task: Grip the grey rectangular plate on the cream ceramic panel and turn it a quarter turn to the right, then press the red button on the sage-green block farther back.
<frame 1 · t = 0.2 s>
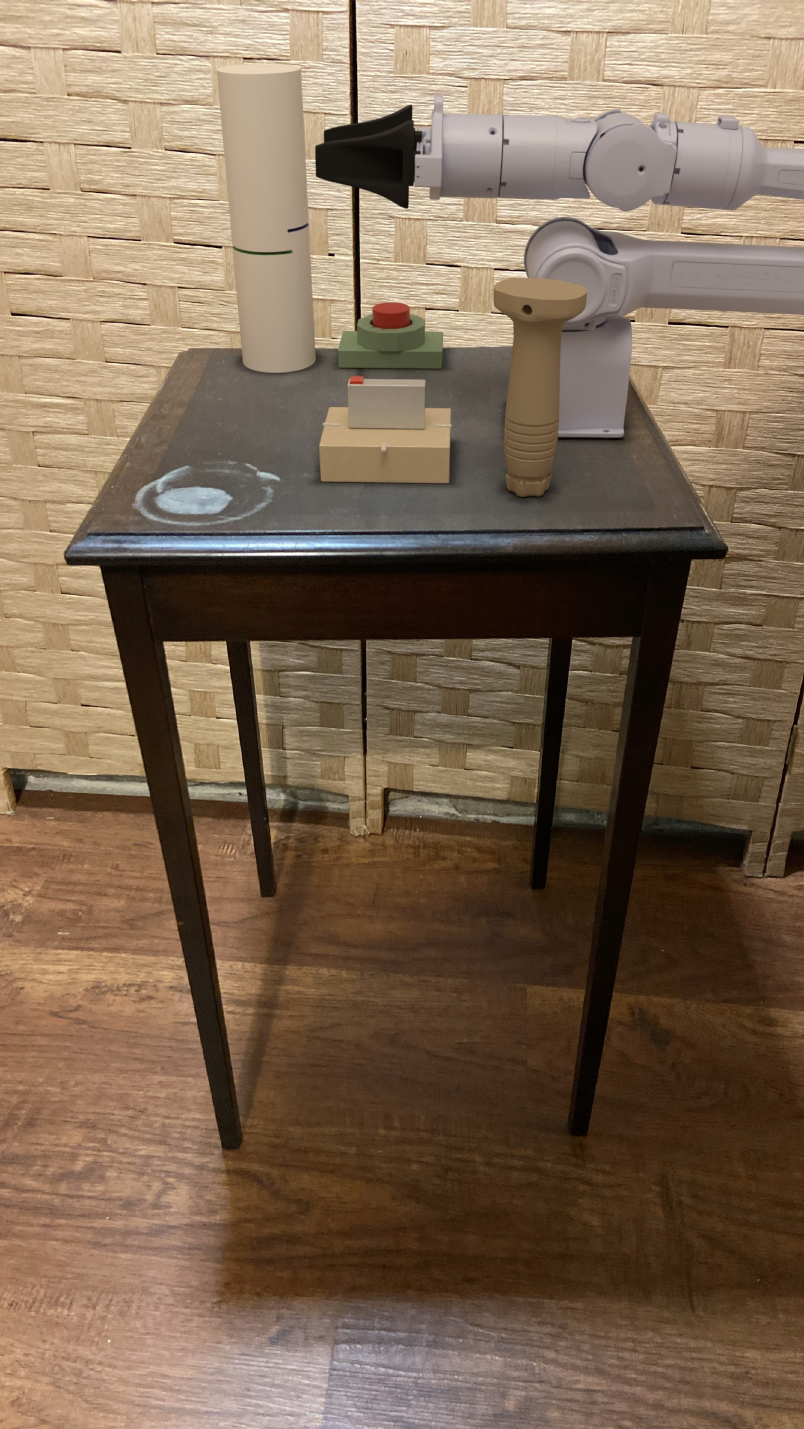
hand: (319, 152, 85), 21 cm above the table, tool horizontal, fingers open, 7 cm apart
grey rectangular plate: (386, 402, 88), point 5 cm above the table, hinge at 0.0°
cylindrical container: (279, 362, 111), on the table
handle: (527, 492, 86), on the table
tap panel: (387, 461, 91), on the table
button: (391, 316, 109), point 4 cm above the table, slide at 0.1 cm
button block: (391, 357, 111), on the table
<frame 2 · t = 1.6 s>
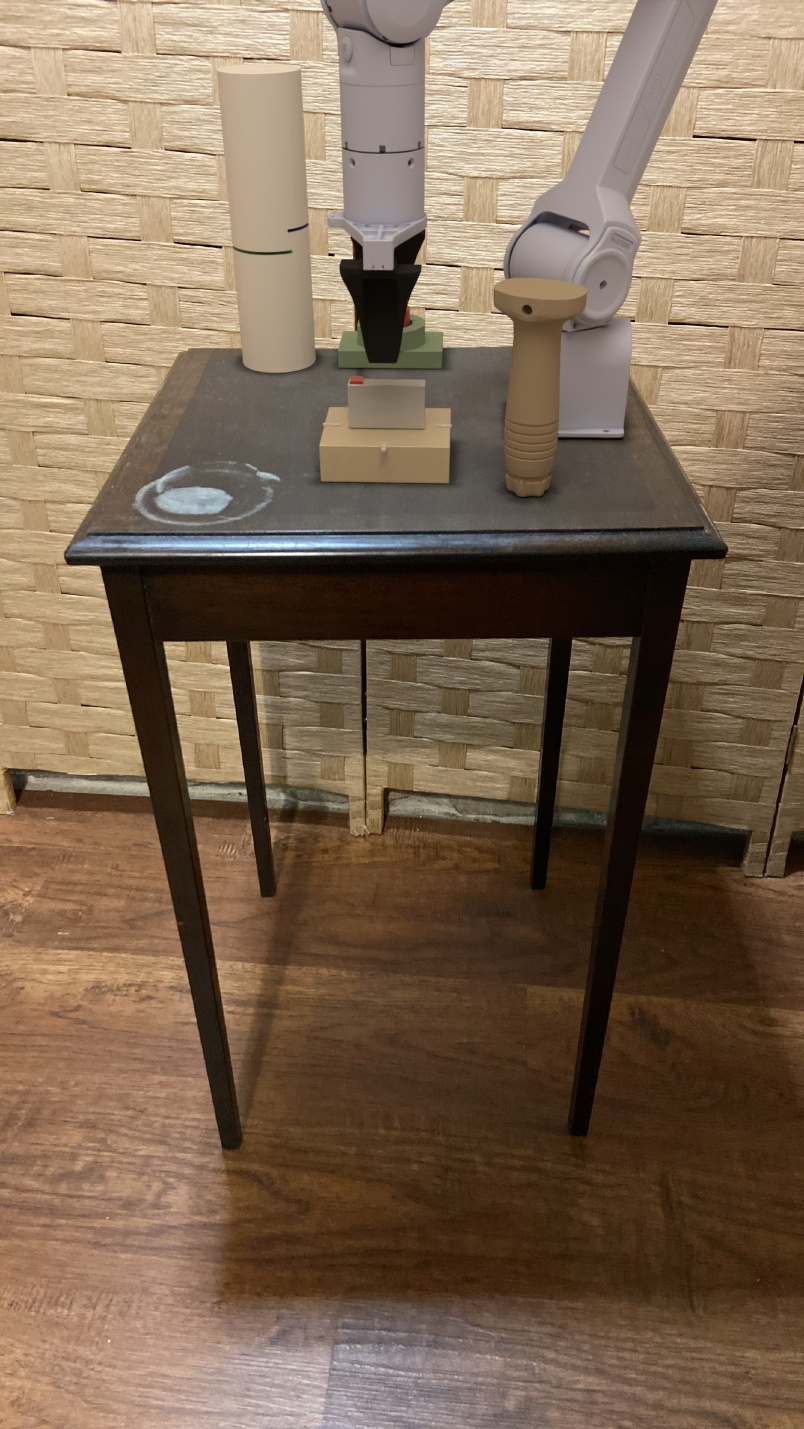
hand: (385, 344, 85), 9 cm above the table, tool pointing down, fingers open, 7 cm apart
nothing on the table moved.
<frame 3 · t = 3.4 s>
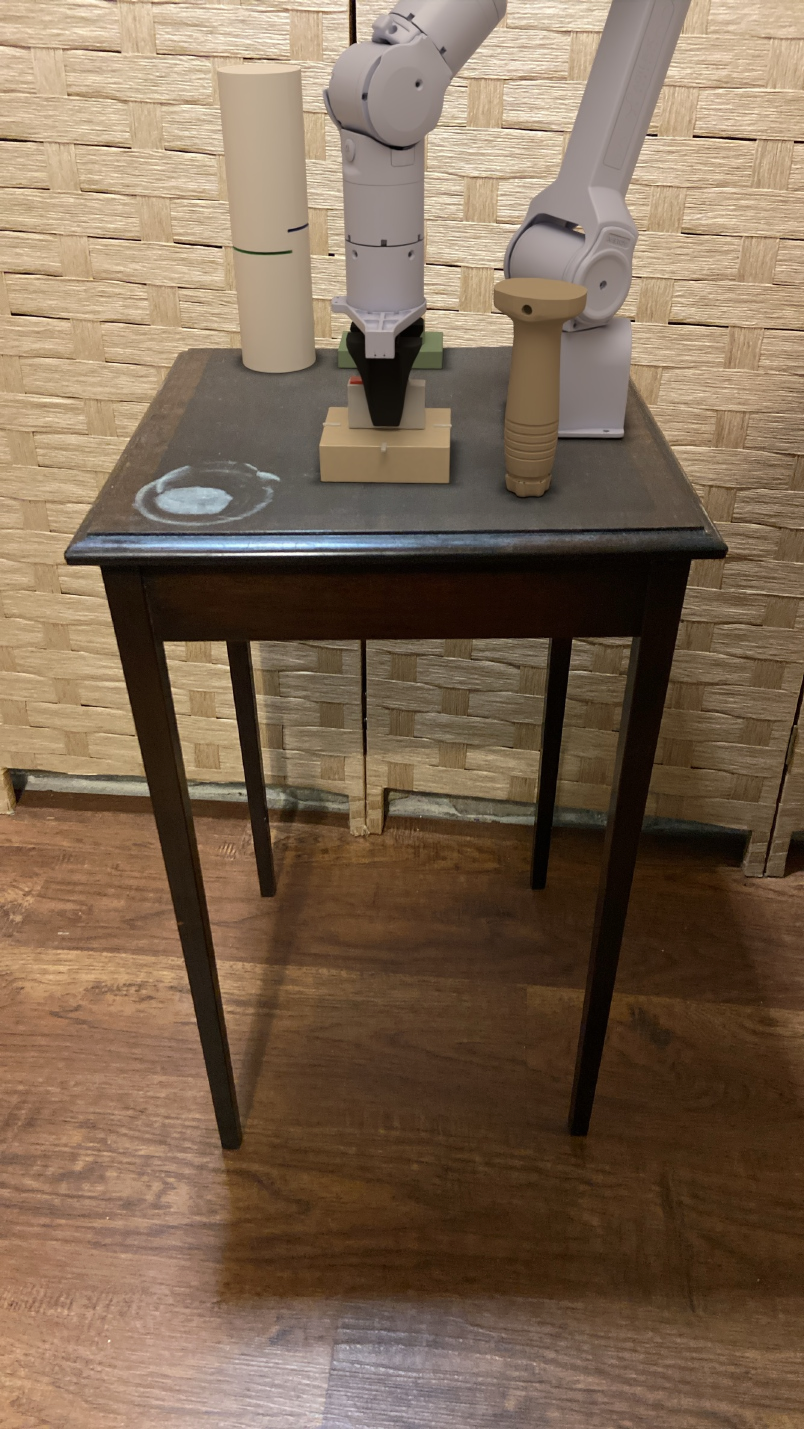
hand: (387, 419, 89), 4 cm above the table, tool pointing down, fingers closed on grey rectangular plate
grey rectangular plate: (386, 402, 88), point 5 cm above the table, hinge at -0.1°, touching gripper
everything else where it was.
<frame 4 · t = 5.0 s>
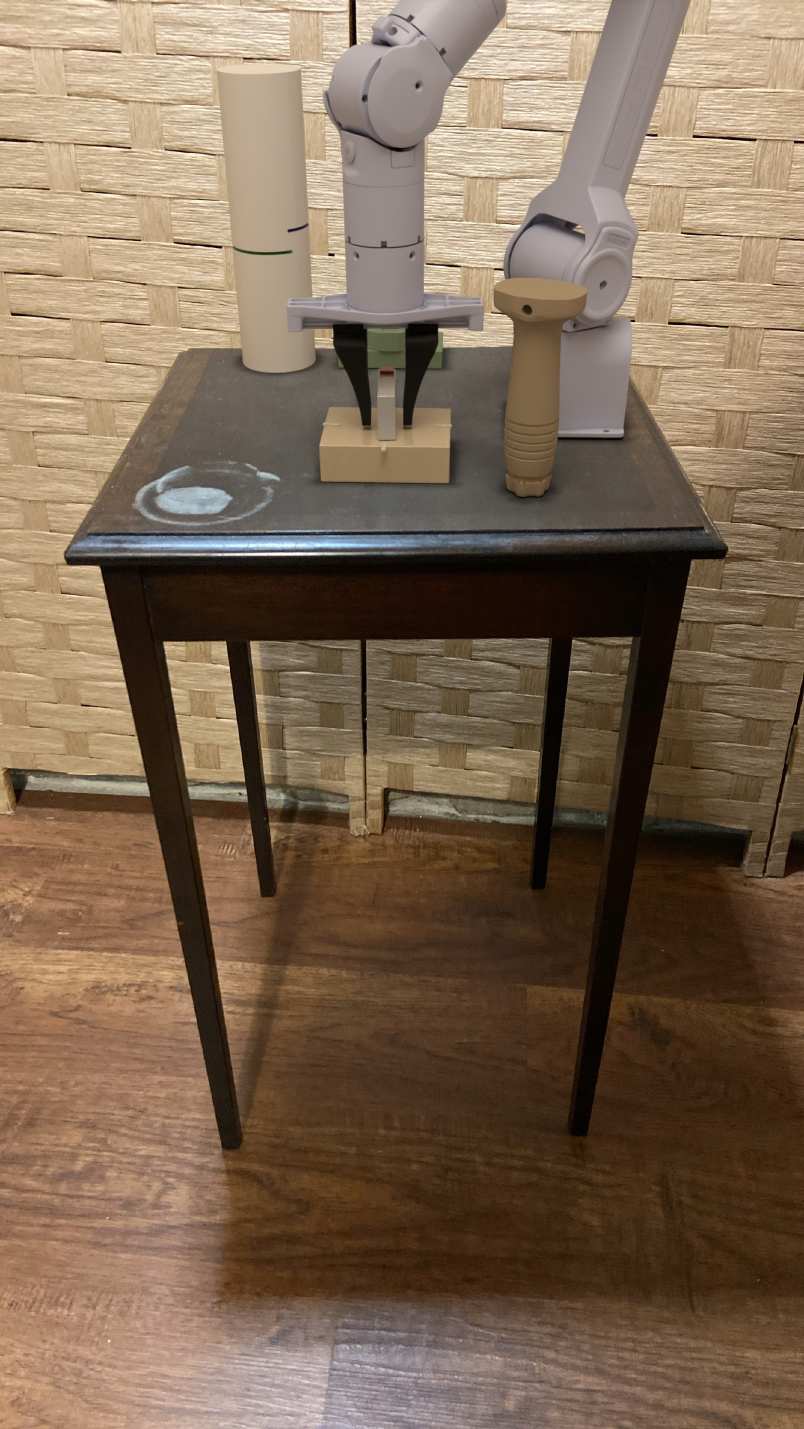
hand: (387, 420, 89), 3 cm above the table, tool pointing down, fingers open, 3 cm apart
grey rectangular plate: (386, 402, 88), point 5 cm above the table, hinge at -87.4°
everything else where it was.
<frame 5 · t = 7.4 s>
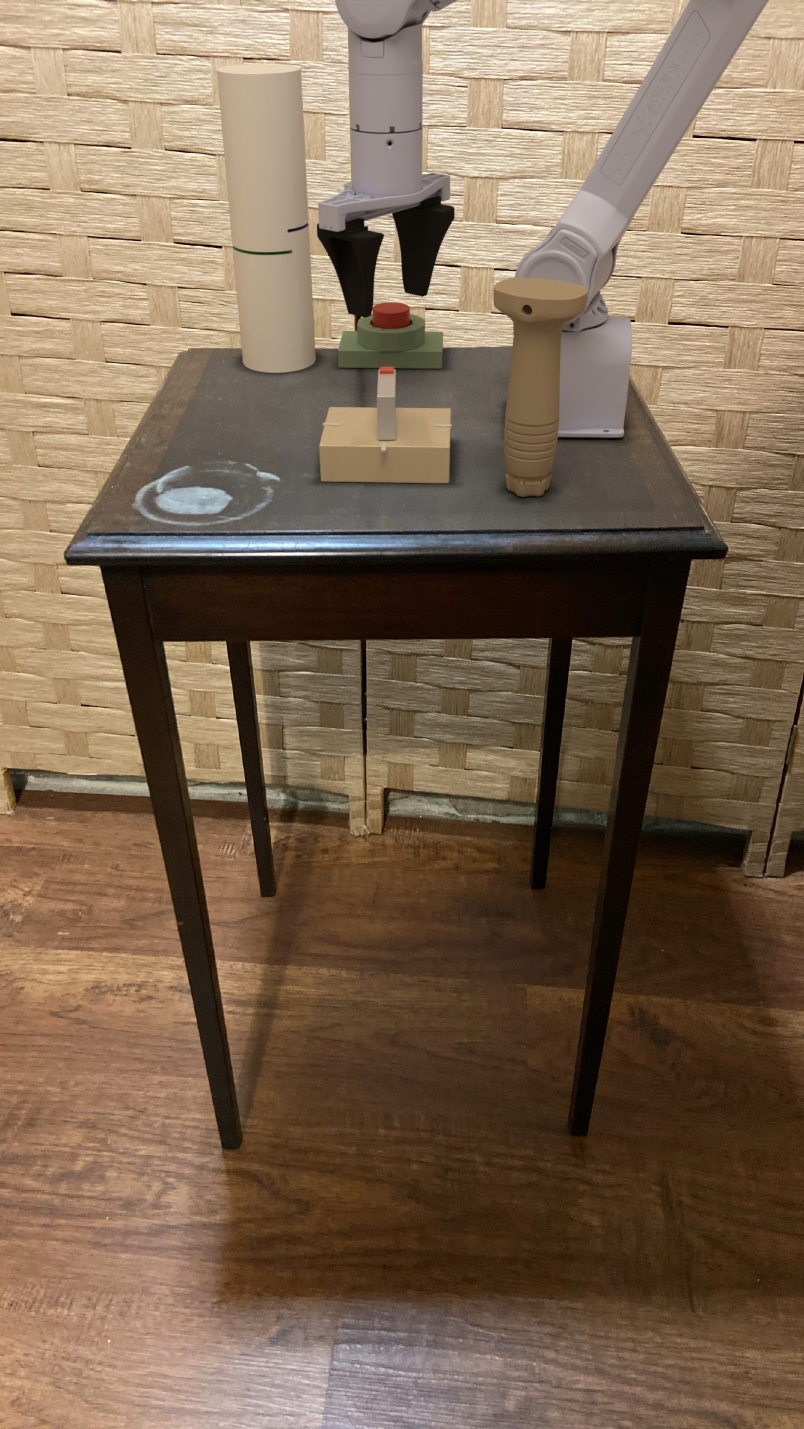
hand: (388, 304, 97), 8 cm above the table, tool pointing down, fingers open, 7 cm apart
nothing on the table moved.
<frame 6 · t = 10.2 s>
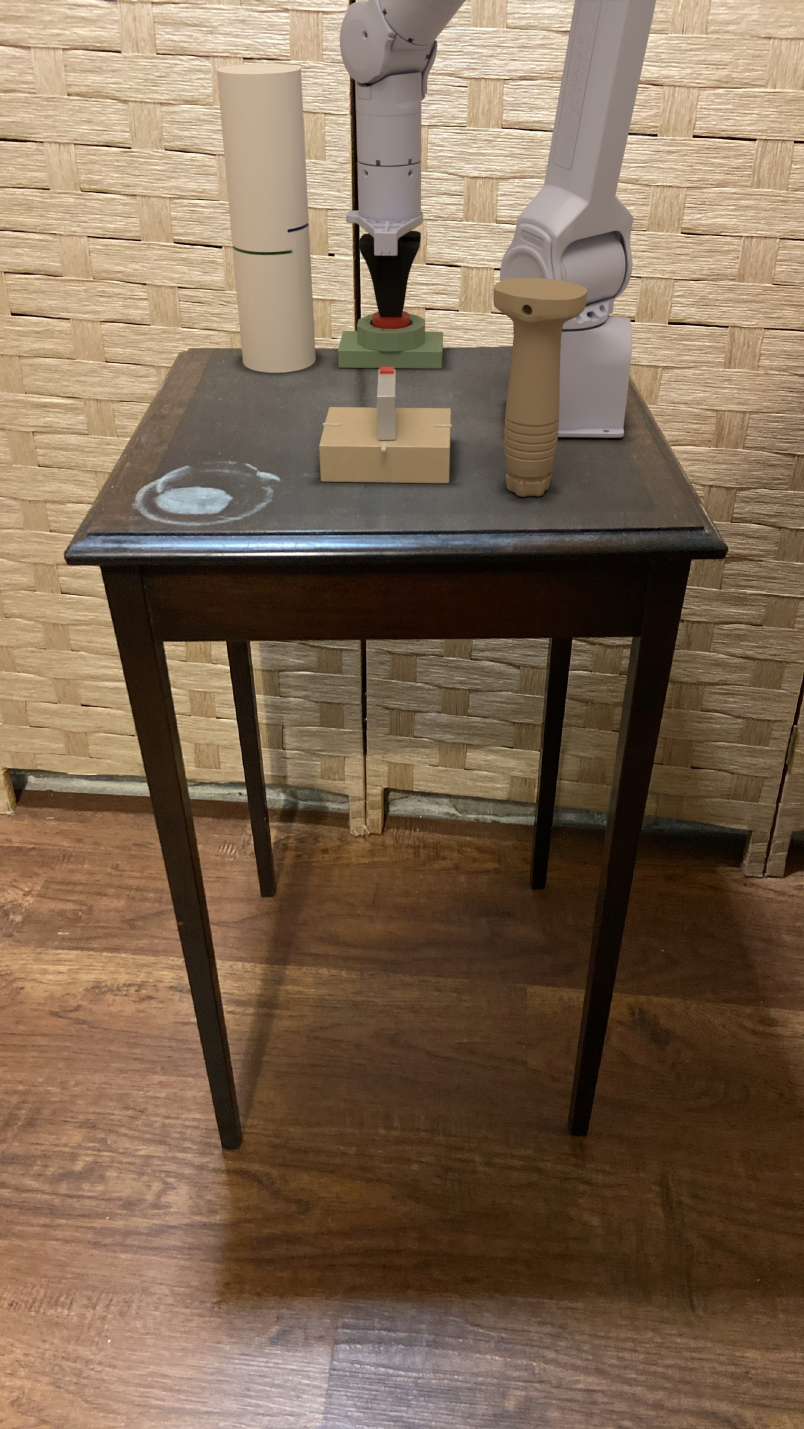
hand: (390, 315, 108), 4 cm above the table, tool pointing down, fingers closed, pressing on button
button: (391, 324, 109), point 3 cm above the table, slide at -0.6 cm, touching gripper
everything else where it was.
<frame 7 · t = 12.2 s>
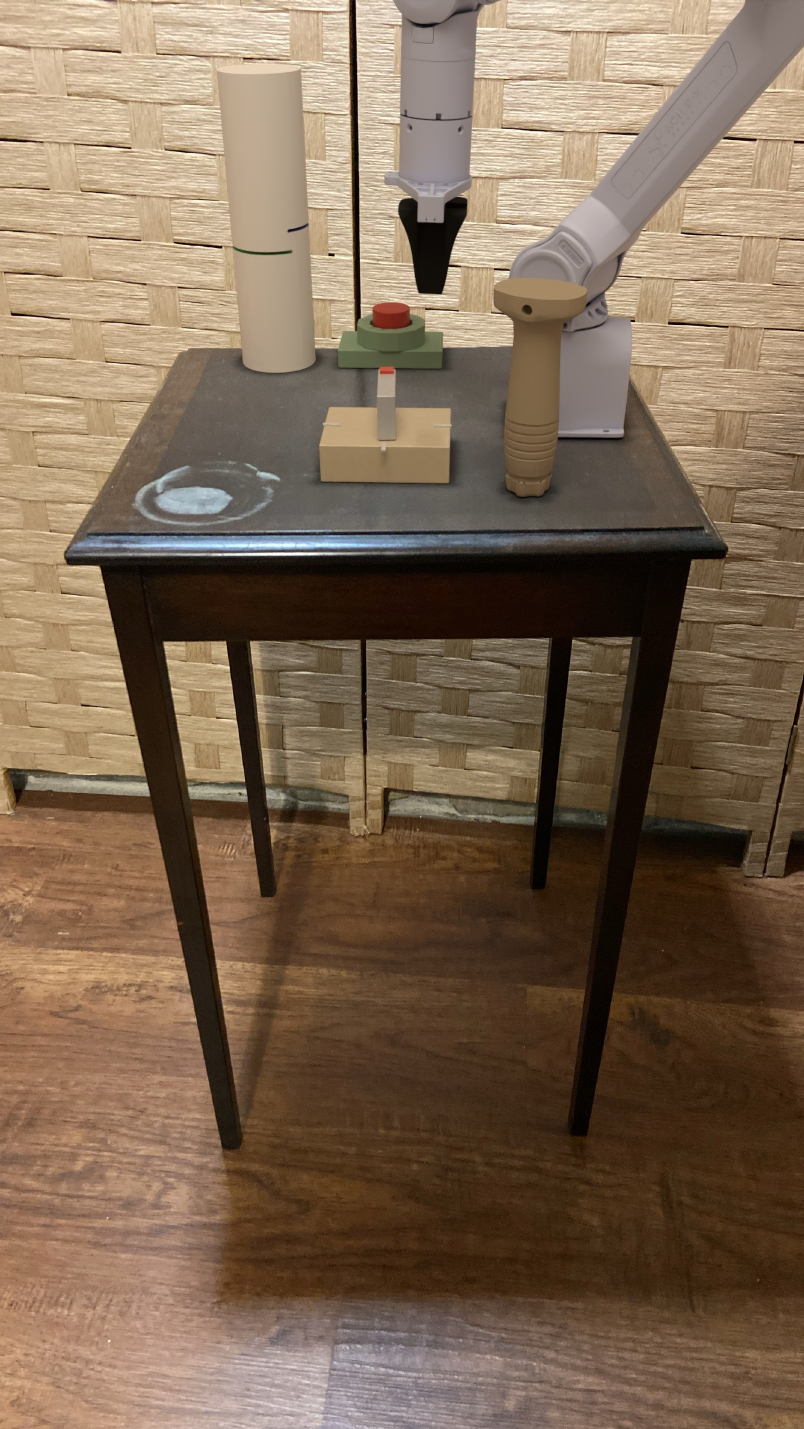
hand: (430, 291, 97), 9 cm above the table, tool pointing down, fingers closed
button: (391, 316, 109), point 4 cm above the table, slide at 0.1 cm
everything else where it was.
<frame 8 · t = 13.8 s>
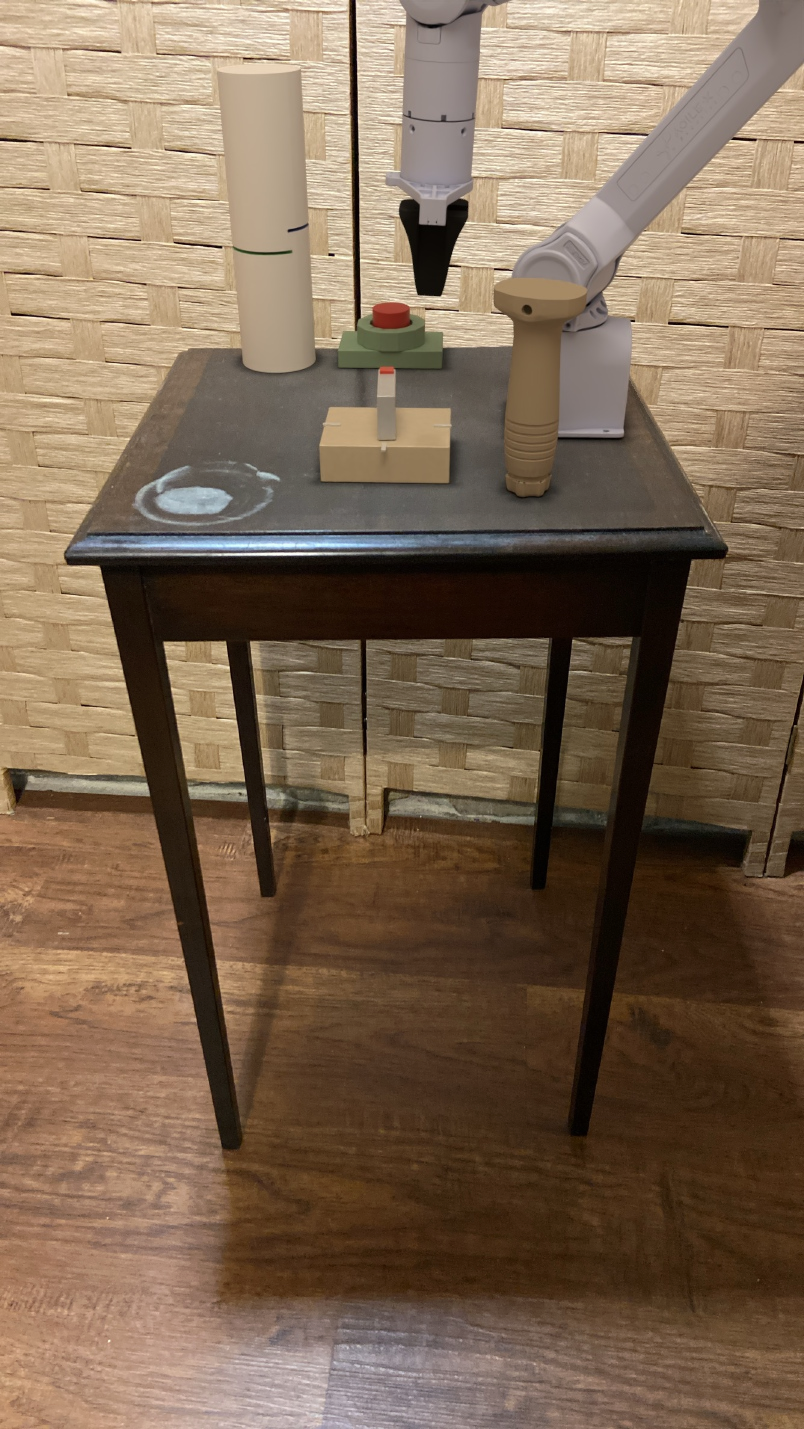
hand: (429, 293, 96), 9 cm above the table, tool pointing down, fingers closed
nothing on the table moved.
at the end: grey rectangular plate at -87° (first picture: +0°); button pushed in 1.2 cm at the most during the clip, back to where it started at the end; button slide at 0.1 cm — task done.
